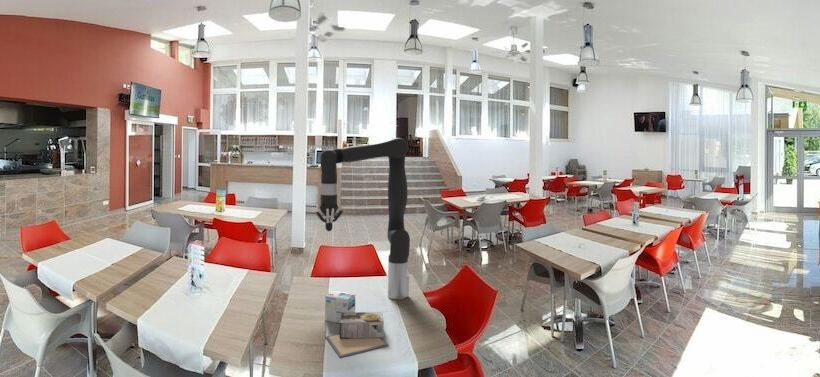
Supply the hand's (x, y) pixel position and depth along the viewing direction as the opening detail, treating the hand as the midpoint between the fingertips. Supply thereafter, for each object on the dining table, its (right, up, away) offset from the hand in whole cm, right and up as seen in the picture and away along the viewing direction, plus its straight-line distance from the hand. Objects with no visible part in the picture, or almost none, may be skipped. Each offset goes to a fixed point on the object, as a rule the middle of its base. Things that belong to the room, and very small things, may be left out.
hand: (328, 230), depth 180 cm
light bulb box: (+9, -35, -20) cm, 41 cm away
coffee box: (+27, -32, -32) cm, 53 cm away
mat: (+18, -36, -38) cm, 55 cm away
